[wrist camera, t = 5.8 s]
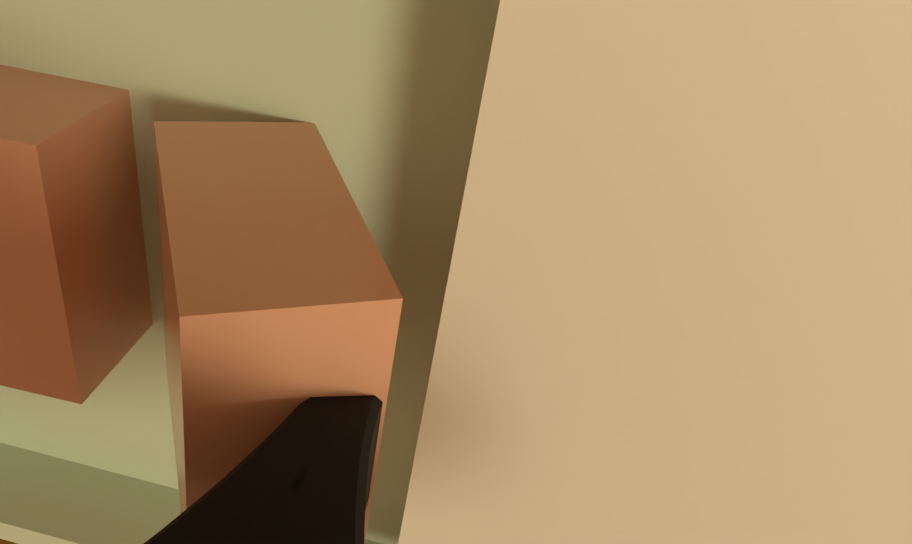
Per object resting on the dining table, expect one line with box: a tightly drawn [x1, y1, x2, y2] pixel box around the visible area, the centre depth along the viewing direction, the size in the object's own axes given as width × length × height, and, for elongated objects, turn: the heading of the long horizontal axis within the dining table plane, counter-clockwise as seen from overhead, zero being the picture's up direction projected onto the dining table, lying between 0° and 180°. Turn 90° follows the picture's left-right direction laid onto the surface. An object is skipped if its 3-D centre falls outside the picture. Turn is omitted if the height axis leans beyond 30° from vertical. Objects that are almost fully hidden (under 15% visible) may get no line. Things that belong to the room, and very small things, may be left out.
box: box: [0, 0, 500, 544], centre depth 14 cm, size 16×12×2 cm
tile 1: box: [154, 121, 403, 544], centre depth 12 cm, size 5×5×2 cm
